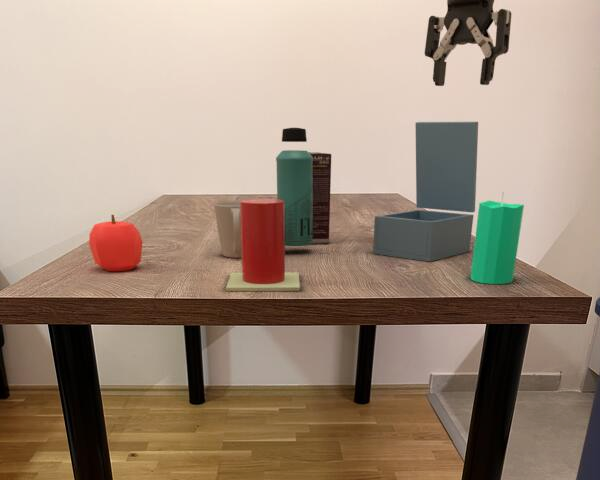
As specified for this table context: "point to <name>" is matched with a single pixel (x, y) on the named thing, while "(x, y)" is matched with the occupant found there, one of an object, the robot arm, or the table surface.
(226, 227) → the cup
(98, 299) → the table surface
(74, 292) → the table surface
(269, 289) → the mat
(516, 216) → the candle
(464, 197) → the lid
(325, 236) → the supplement box
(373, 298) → the table surface
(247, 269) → the red cylinder
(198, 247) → the table surface
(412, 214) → the chest
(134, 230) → the apple
